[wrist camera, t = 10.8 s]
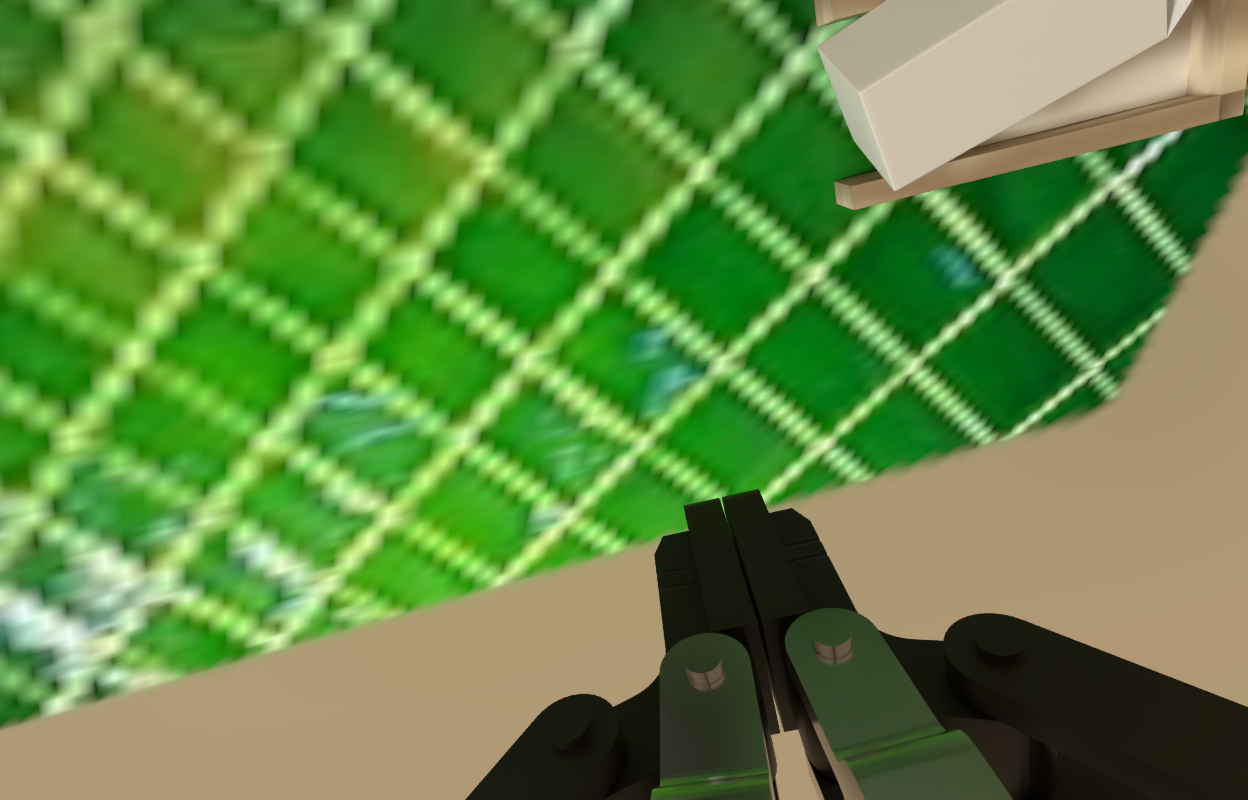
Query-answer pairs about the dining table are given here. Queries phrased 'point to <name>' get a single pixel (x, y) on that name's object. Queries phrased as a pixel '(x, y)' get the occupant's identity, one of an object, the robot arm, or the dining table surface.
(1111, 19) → the milk carton
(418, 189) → the dining table surface
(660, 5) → the dining table surface
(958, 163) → the u rest
